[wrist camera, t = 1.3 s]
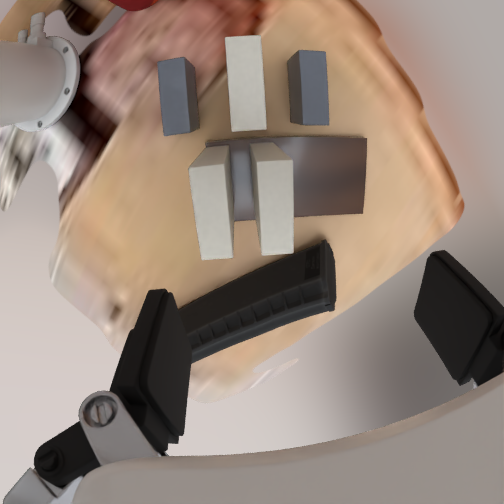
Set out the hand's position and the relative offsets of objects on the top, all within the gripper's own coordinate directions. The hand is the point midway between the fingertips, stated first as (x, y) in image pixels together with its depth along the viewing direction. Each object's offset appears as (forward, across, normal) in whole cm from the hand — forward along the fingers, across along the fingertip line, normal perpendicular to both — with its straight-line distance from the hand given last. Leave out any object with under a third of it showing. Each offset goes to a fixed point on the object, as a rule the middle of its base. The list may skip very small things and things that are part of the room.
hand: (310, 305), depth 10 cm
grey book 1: (+23, +7, -9) cm, 26 cm away
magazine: (+23, +6, +16) cm, 29 cm away
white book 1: (+22, +4, 0) cm, 23 cm away
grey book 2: (+23, -5, -8) cm, 25 cm away
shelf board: (+23, -3, +1) cm, 23 cm away
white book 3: (+22, 0, +1) cm, 22 cm away
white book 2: (+23, +1, -8) cm, 25 cm away
